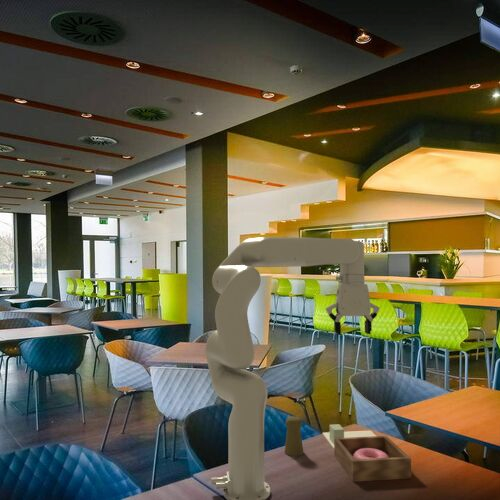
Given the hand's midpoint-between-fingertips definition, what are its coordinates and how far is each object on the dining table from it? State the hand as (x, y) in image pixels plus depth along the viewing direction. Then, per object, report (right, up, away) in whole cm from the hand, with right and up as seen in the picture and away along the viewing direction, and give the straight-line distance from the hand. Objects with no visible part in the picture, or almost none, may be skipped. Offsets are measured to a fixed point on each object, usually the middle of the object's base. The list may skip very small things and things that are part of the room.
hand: (352, 334), depth 142 cm
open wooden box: (+3, -38, -8) cm, 39 cm away
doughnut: (+4, -38, -8) cm, 39 cm away
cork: (-18, -39, +2) cm, 43 cm away
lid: (+3, -39, +11) cm, 41 cm away
